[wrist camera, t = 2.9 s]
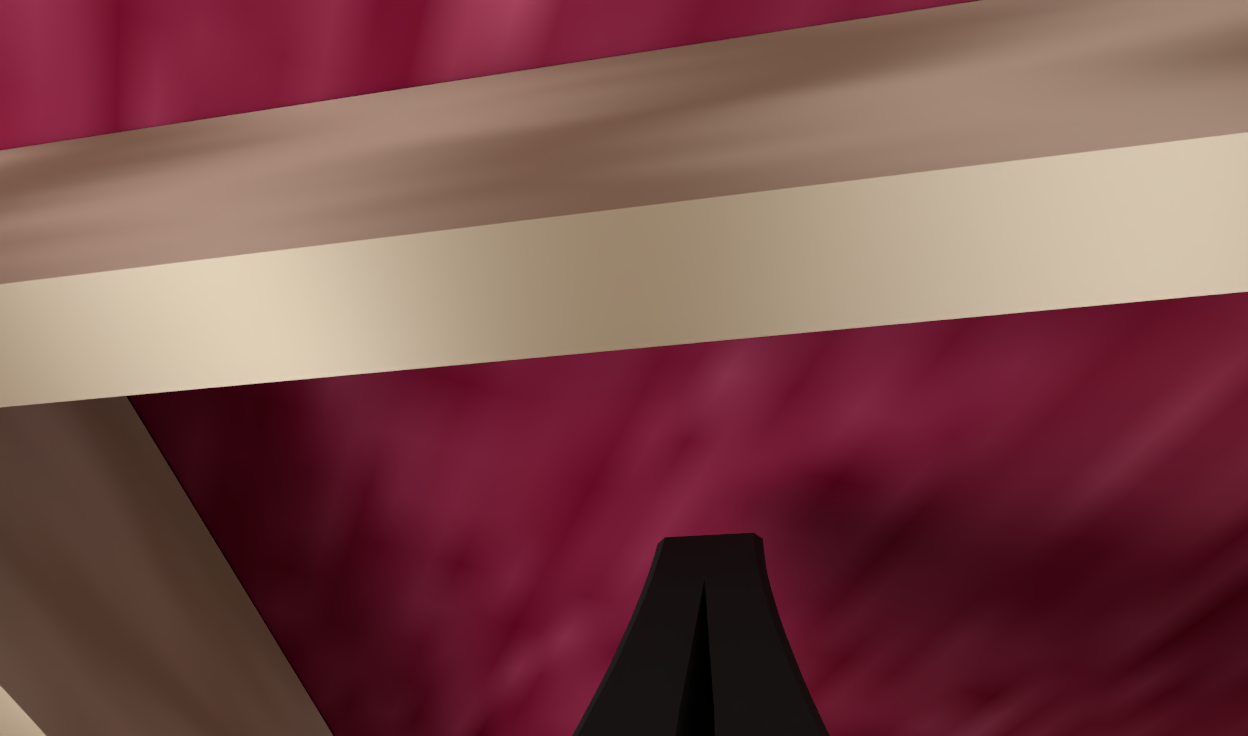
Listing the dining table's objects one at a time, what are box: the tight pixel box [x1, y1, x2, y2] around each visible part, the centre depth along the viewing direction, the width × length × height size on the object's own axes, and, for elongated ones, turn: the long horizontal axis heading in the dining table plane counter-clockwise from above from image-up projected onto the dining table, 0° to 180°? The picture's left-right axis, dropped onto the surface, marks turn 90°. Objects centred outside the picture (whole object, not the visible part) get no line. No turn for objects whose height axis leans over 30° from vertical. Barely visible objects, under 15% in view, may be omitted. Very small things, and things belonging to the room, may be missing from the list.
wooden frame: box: [0, 0, 1248, 736], centre depth 13 cm, size 19×19×4 cm
